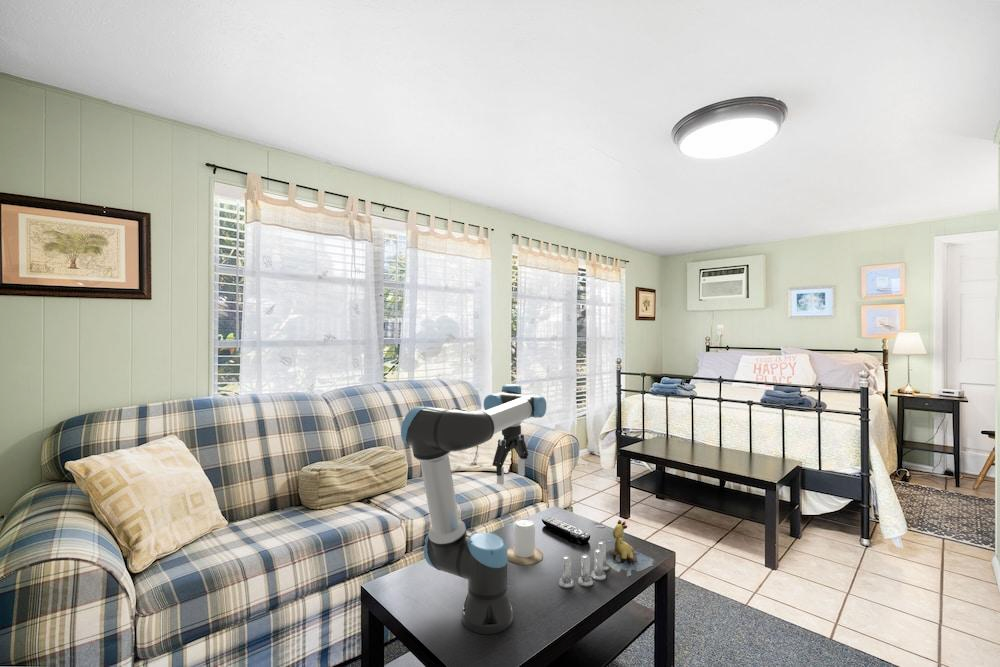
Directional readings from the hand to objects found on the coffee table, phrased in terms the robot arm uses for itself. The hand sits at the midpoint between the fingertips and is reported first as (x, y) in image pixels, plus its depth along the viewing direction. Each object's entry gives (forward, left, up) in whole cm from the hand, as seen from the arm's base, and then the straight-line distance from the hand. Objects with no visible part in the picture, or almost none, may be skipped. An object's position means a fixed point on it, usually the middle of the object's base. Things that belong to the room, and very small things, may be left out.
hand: (511, 479), depth 173 cm
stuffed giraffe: (+23, -37, -29) cm, 53 cm away
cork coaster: (+2, -5, -29) cm, 29 cm away
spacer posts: (+4, -31, -29) cm, 42 cm away
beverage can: (+2, -5, -28) cm, 29 cm away
